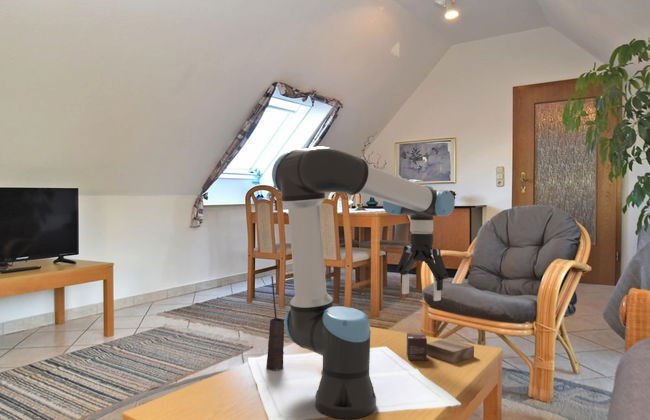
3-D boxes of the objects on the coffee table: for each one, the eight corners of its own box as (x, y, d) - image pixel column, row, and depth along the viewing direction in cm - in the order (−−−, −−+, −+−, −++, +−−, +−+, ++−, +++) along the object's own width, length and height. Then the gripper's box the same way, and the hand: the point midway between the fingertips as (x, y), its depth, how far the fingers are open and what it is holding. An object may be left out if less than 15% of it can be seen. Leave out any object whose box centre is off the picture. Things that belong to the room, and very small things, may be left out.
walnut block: (453, 364, 145) (453, 352, 144) (426, 355, 153) (426, 343, 153) (473, 357, 151) (474, 346, 151) (446, 349, 160) (447, 338, 160)
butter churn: (299, 366, 140) (301, 276, 140) (280, 376, 132) (281, 280, 132) (277, 360, 145) (278, 273, 145) (256, 369, 137) (257, 276, 137)
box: (424, 355, 152) (424, 333, 152) (426, 361, 146) (427, 338, 146) (406, 354, 153) (406, 332, 153) (407, 360, 147) (408, 337, 147)
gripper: (460, 234, 142) (459, 302, 143) (401, 230, 162) (401, 289, 162) (445, 235, 138) (444, 305, 138) (386, 231, 158) (385, 292, 158)
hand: (420, 297), depth 150 cm, fingers open, 13 cm apart
